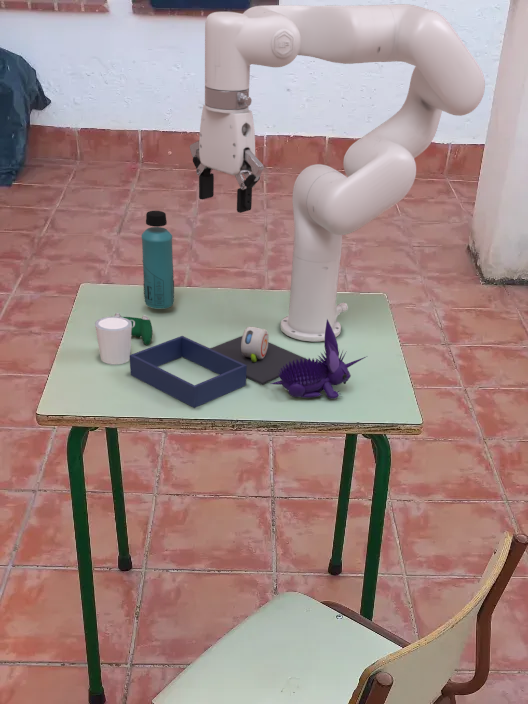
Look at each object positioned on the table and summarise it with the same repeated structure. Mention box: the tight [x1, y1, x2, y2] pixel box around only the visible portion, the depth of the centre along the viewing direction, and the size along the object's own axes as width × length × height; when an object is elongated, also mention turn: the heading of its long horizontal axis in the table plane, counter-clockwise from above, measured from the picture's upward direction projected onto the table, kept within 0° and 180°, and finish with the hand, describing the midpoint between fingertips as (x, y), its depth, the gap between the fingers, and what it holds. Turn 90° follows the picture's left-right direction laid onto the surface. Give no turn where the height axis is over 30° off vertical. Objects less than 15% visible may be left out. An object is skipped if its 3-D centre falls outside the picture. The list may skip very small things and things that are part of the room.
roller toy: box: [241, 326, 270, 362], centre depth 172 cm, size 4×6×6 cm
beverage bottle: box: [141, 210, 176, 310], centre depth 184 cm, size 6×7×20 cm
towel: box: [209, 335, 309, 386], centre depth 174 cm, size 14×17×1 cm
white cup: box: [94, 315, 132, 365], centre depth 169 cm, size 7×7×7 cm
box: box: [129, 335, 247, 409], centre depth 165 cm, size 13×17×4 cm
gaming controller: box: [114, 312, 153, 346], centre depth 178 cm, size 9×4×6 cm
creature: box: [270, 319, 368, 400], centre depth 161 cm, size 9×18×12 cm, turn 96°
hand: (224, 204), depth 163 cm, fingers open, 9 cm apart
